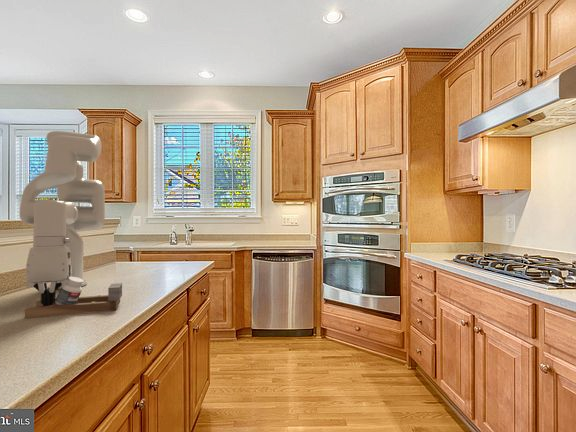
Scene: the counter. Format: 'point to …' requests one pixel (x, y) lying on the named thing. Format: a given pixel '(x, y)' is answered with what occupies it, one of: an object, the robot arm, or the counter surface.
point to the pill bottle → (69, 292)
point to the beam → (80, 304)
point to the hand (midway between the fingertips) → (48, 305)
